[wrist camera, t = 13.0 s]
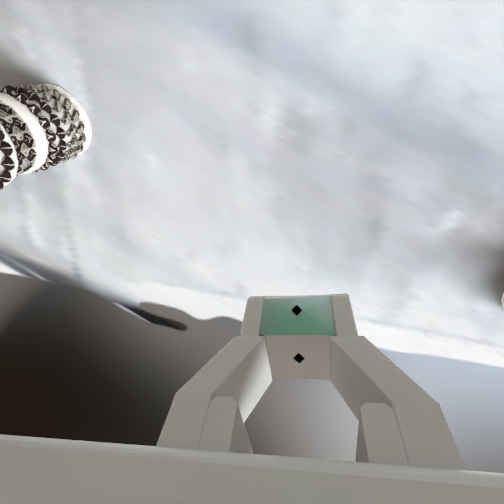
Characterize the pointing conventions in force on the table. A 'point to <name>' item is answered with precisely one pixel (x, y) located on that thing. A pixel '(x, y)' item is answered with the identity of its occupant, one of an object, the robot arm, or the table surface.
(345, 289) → the table surface
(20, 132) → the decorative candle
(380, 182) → the table surface
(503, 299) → the base with upright slab
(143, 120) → the table surface
